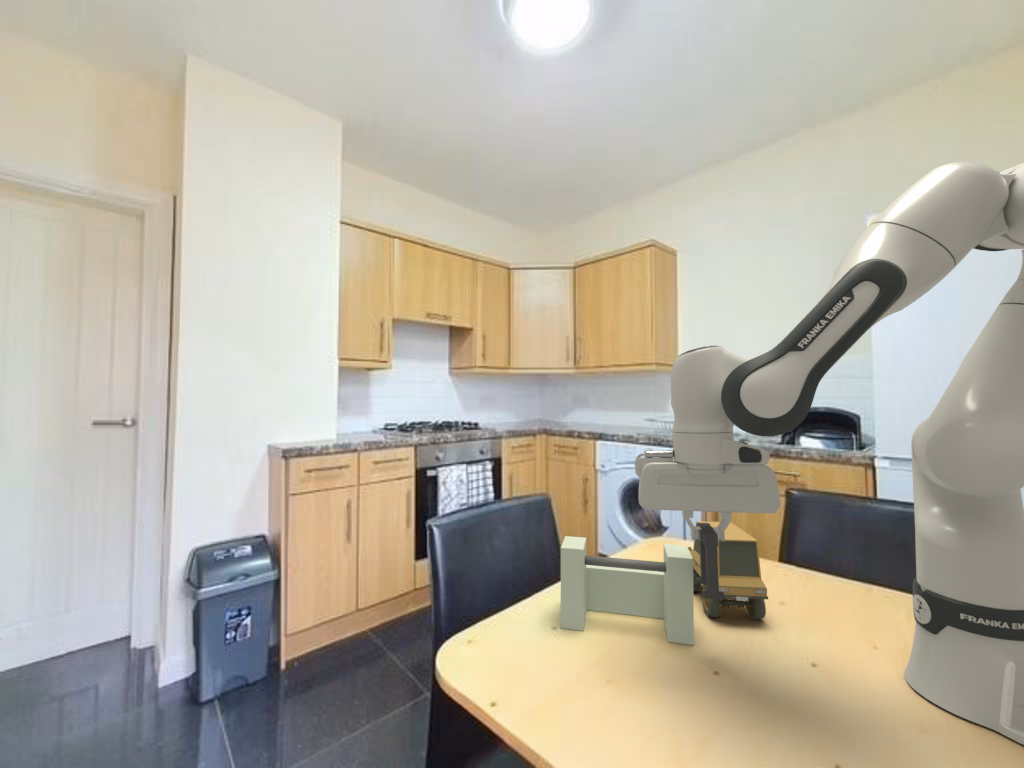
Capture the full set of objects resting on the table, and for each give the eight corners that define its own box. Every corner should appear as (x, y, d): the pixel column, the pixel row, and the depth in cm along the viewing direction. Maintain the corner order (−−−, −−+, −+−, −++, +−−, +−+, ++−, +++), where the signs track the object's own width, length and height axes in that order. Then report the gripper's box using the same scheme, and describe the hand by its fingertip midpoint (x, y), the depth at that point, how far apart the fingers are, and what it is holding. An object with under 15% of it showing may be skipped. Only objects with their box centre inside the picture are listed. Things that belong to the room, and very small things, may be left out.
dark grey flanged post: (715, 581, 71) (712, 523, 72) (725, 599, 64) (722, 534, 65) (695, 580, 72) (693, 522, 72) (703, 598, 65) (700, 534, 66)
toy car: (730, 585, 97) (729, 516, 97) (773, 630, 78) (771, 544, 78) (681, 583, 98) (681, 514, 98) (712, 626, 79) (711, 541, 79)
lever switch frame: (685, 616, 82) (684, 540, 83) (693, 645, 73) (692, 558, 73) (567, 602, 87) (567, 531, 88) (560, 628, 78) (560, 547, 78)
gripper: (635, 452, 69) (638, 542, 68) (781, 452, 64) (787, 549, 63) (634, 448, 75) (637, 531, 74) (767, 448, 70) (772, 537, 69)
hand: (707, 539), depth 68 cm, fingers closed on dark grey flanged post, 2 cm apart
